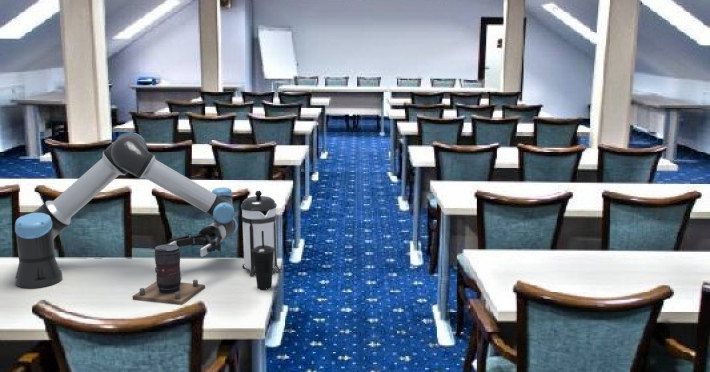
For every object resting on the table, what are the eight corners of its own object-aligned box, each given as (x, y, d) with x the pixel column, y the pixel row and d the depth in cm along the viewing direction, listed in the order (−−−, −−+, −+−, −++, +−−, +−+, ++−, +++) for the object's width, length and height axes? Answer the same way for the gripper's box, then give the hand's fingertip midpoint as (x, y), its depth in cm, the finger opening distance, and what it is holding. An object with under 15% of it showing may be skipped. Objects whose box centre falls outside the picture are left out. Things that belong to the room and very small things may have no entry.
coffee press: (290, 266, 270) (288, 187, 264) (267, 279, 256) (265, 196, 250) (251, 260, 278) (248, 183, 271) (226, 272, 263) (223, 192, 257)
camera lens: (175, 295, 238) (172, 251, 235) (152, 293, 240) (149, 250, 237) (185, 286, 246) (183, 244, 243) (163, 285, 247) (161, 243, 244)
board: (132, 299, 238) (131, 290, 237) (158, 283, 253) (157, 274, 252) (181, 304, 233) (181, 295, 232) (205, 288, 248) (204, 279, 247)
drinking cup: (279, 285, 251) (277, 229, 246) (269, 292, 244) (267, 235, 239) (259, 282, 253) (257, 227, 249) (249, 289, 246) (247, 233, 242)
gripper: (243, 247, 268) (216, 264, 248) (182, 242, 275) (152, 258, 255) (242, 227, 266) (215, 243, 246) (181, 223, 273) (150, 238, 253)
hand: (183, 251), depth 250 cm, fingers open, 13 cm apart
